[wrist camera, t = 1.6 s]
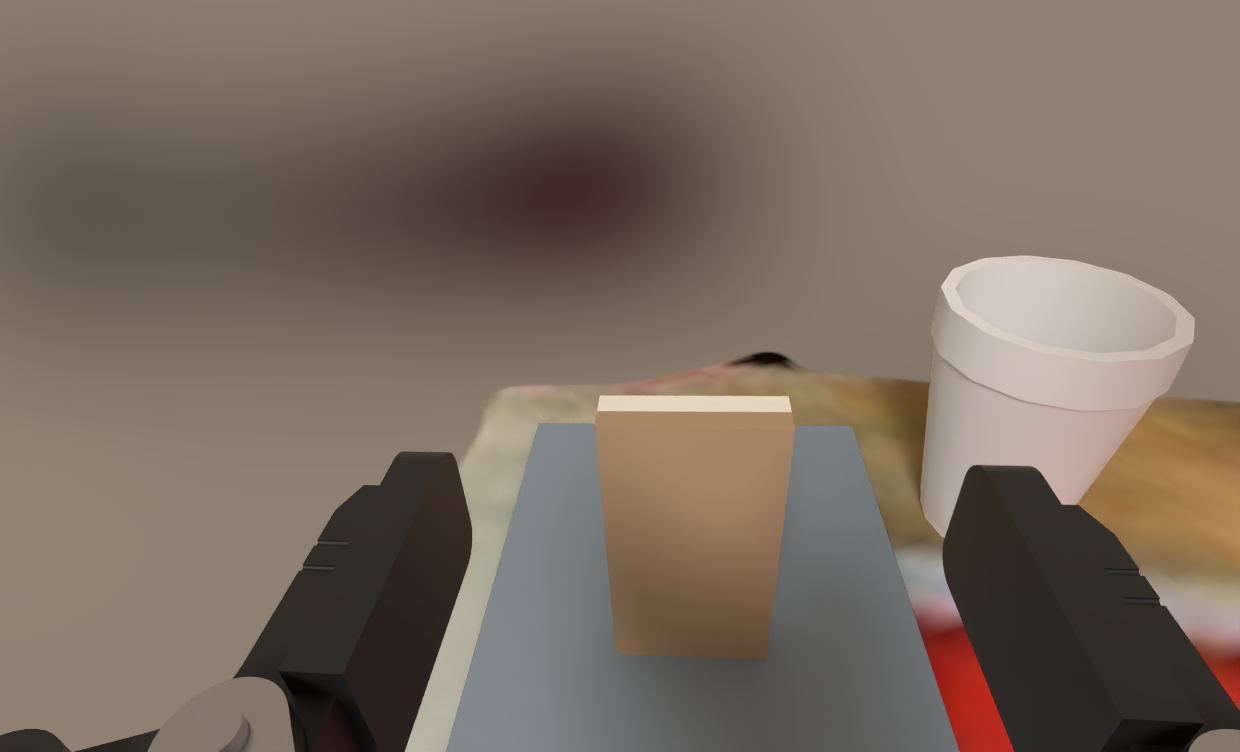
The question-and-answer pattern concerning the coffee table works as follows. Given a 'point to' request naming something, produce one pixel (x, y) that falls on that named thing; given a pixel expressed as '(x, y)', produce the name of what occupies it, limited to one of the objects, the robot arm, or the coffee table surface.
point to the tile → (693, 520)
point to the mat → (698, 686)
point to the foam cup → (1042, 371)
